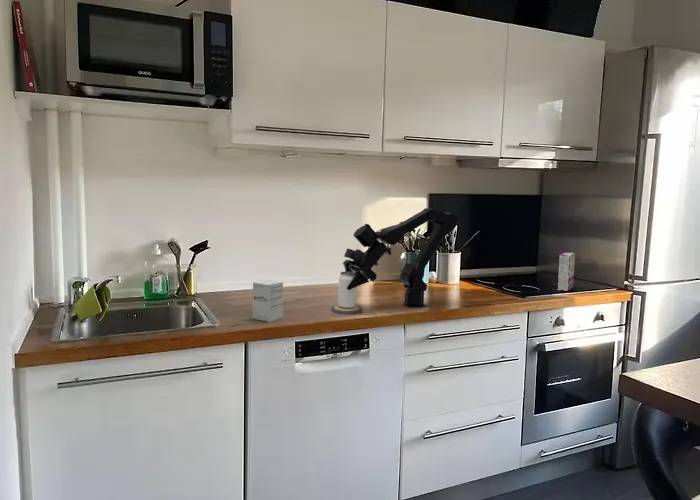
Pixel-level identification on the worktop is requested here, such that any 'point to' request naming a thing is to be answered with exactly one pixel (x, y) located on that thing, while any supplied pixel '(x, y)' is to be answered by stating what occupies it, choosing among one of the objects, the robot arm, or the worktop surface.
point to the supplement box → (267, 300)
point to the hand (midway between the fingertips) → (344, 287)
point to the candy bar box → (566, 271)
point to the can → (346, 290)
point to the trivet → (346, 310)
